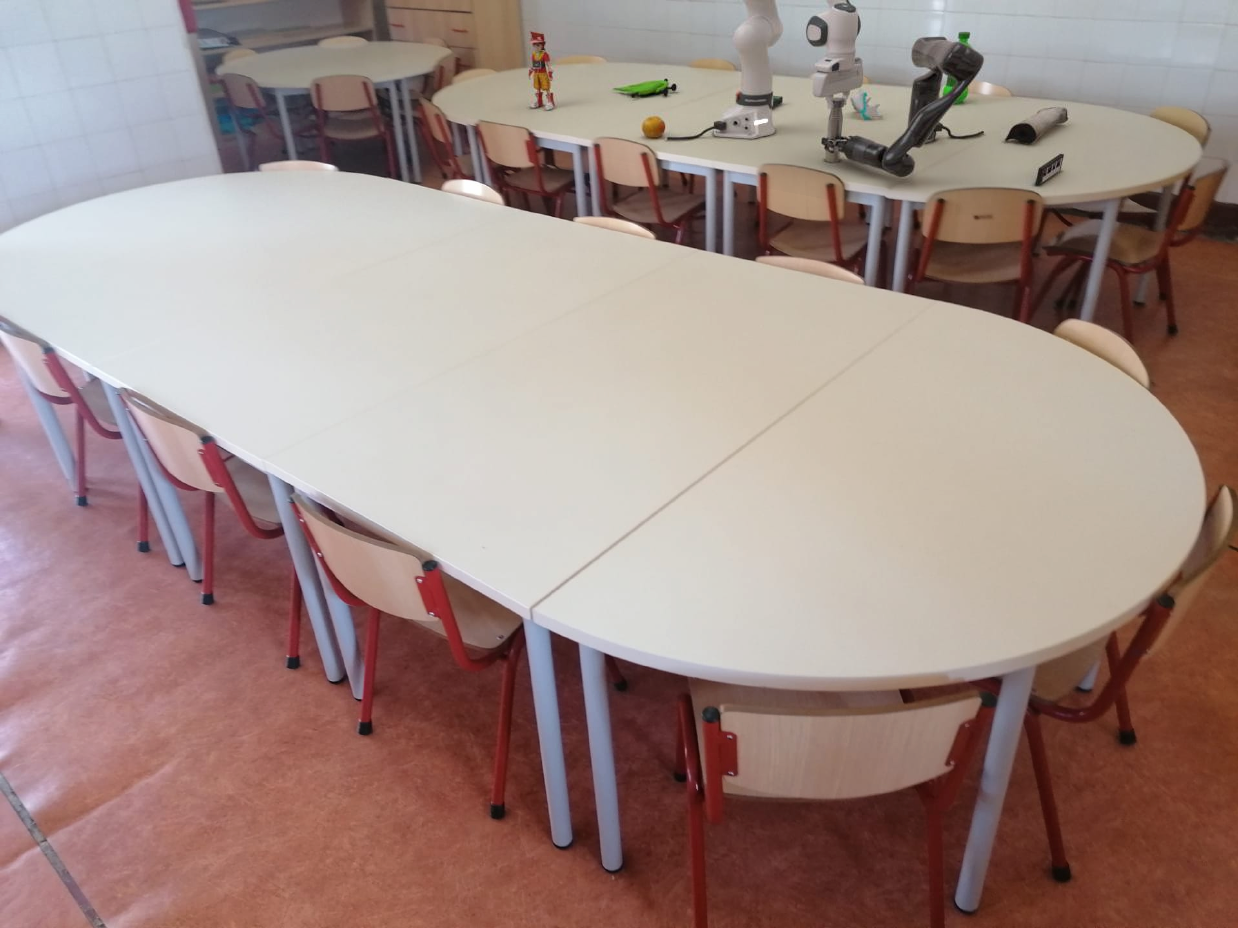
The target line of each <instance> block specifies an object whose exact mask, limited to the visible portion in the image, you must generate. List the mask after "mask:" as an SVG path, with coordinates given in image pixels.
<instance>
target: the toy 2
mask: <svg viewBox="0 0 1238 928" xmlns="http://www.w3.org/2000/svg"><path fill="white" fill-rule="evenodd" d="M669 85H670V83H669V79H668V78H664V79H663V80H649V81H644V82H640V83H634V84H629V85H627V86H621V87H613V88H612V89H613V90H616V91H619V92H623V93H627V94H628V93H629V94H631V95H630V96H631V98H632V99H634V98H636V96H637V95H650V94H652V93H654V94H658V93H662V95H663V96H665V97H667V96H668V95H669V90H671V91H672V92H676V91H677V84H676V83H672V84H671V86H669Z"/></svg>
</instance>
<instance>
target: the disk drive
mask: <svg viewBox="0 0 1238 928" xmlns="http://www.w3.org/2000/svg"><path fill="white" fill-rule="evenodd" d="M783 99H784V97H783V96H778V95H773V106H772V109H774V108H777V106H779V105H782V103H783V102H784V101H783Z"/></svg>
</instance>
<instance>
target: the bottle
mask: <svg viewBox="0 0 1238 928" xmlns="http://www.w3.org/2000/svg"><path fill="white" fill-rule="evenodd" d="M842 108H843V107H842ZM842 108H833V109H830V110H829V115H828V121H827V132H826V133H827V134H826V138H828V139H831V140H835V139H840V140H841V136H843V123H844V122H843V121H844V114H843V109H842ZM832 144H833V143H832ZM837 144H838V142H837ZM840 157H841V152H839V151H834V153H830V152H828V151H827V150H825V159H824V161H825V162H827V163H837V162H839V161H840Z"/></svg>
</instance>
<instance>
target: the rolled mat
mask: <svg viewBox="0 0 1238 928" xmlns="http://www.w3.org/2000/svg"><path fill="white" fill-rule="evenodd" d="M1068 115H1069V114H1068V109H1067V108H1066V107H1060V106H1052V107H1047V108H1041V109H1039V110H1037V113H1035V114H1034V115H1031V116H1029V117H1027V118H1025V119H1023V120H1021V121H1019V122H1017V123H1016V124H1014V125H1013V126H1012V127H1011V128H1010V130H1009V131H1008V134H1007V135H1006V137H1005V138H1004V142H1009V141H1010V140H1011V141H1012V140H1016V141H1017V142H1018V143H1020V144H1023V145H1024V144H1025V145H1033V144H1034V143H1035V142H1036V141H1037V140H1038V139H1039V138H1040V137H1041V136H1042V135H1043V134H1044V133H1045V132H1046V131H1048V130H1049V129H1050V128H1052V127H1053V126H1054V125H1060V124H1065V123H1066V122H1068V121H1069V117H1068Z"/></svg>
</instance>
